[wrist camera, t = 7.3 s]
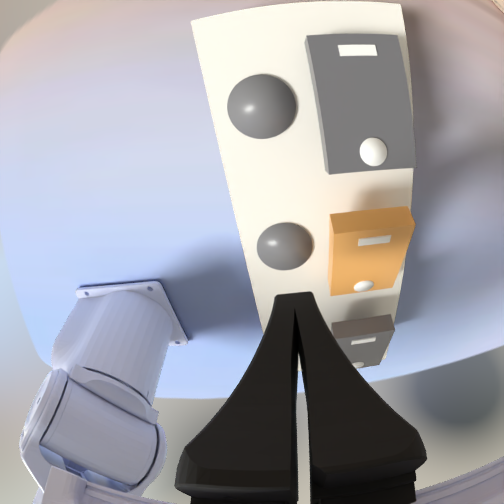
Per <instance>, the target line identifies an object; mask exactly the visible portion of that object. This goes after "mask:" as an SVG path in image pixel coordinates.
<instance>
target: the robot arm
mask: <svg viewBox="0 0 504 504" xmlns="http://www.w3.org/2000/svg"><path fill="white" fill-rule="evenodd" d="M150 287H152V288H150ZM75 293H76V295H77V297H78V298H79V299H78V301H77V303H76V304H75V306H74V308H73V309H72V311H71V313H70V315H69V316H68V318H67V320H66V322H65V323H64V325H63V327H62V329H61V330H60V332H59V334H58V336H57V338H56V339H55V342H54V344H53V348H52V354H51V363H52V369H53V370H52V371H50V372H49V373H48V375H47V376H46V378H45V379H44V381H43V383H42V385H41V386H40V388H39V390H38V392H37V394H36V396H35V398H34V400H33V403H32V405H31V407H30V410H29V412H28V415H27V418H26V421H25V425H24V428H23V431H22V433H21V436H20V441H19V448H20V455H21V458H22V460H23V462H24V464H25V465H26V467H27V469H28V470H29V472H30V473H31V475H32V476H33V478H34V479H35V481H36V482H37V484H38V485H39V488H38V490H37V493H36V495H35V498H34V501H33V503H32V504H175V503H169V502H163V501H158V500H153V499H149V498H144V497H141V496H142V494H143V492H144V491H145V490H146V488H147V487H148V486H149V485H150V484H151V483H152V482H153V481H154V480H155V479H156V478H157V477H158V475H159V474H160V472H161V470H162V468H163V466H164V463H165V459H166V455H167V441H166V437H165V432H164V430H163V428H162V427H161V425H159V424H158V423H156V421H157V417H158V413H159V412H158V411H156V410H155V409H153V408H152V404H153V400H154V396H155V392H156V388H157V385H158V381H159V377H160V374H161V370H162V367H163V363H164V359H165V356H166V352H167V349H168V346H178V345H187V344H188V339H187V337H186V335H185V333H184V331H183V329H182V327H181V325H180V323H179V321H178V319H177V317H176V315H175V313H174V311H173V308H172V306H171V304H170V302H169V300H168V298H167V296H166V294H165V291H164V289H163V287H162V285H161V284H160V283H159V282H157V281H150V282H139V283H128V284H117V285H106V286H94V287H82V288H77V289H76V291H75ZM298 356H299V358H300V364H301V370H302V377H303V383H304V389H305V395H306V402H307V411H308V430H309V455H310V456H309V457H310V502H311V503H310V504H504V456H503V457H501V458H499V459H497V460H495V461H493V462H491V463H489V464H487V465H484V466H482V467H480V468H478V469H475V470H473V471H471V472H468V473H466V474H463V475H461V476H458V477H455V478H453V479H450V480H447V481H444V482H442V483H439V484H436V485H433V486H429V487H426V488H423V489H420V490H416V491H415V486H414V482H415V481H416V473H415V470H416V469H418V468H419V467H420V466H421V465H422V464H424V462H425V461H426V460H427V456H426V450H425V447H424V444H423V442H422V439H421V437H420V435H419V433H418V431H417V430H416V429H415V428H414V427H413V426H412V425H410V424H409V423H408V422H407V421H406V420H404V419H403V418H402V417H401V416H400V415H399V414H397V413H396V412H395V411H394V410H393V409H392V408H391V407H390V406H389V405H388V404H387V403H386V402H385V401H384V400H383V399H382V398H381V397H380V396H379V395H378V394H377V393H376V392H375V391H374V390H373V388H372V387H371V386H370V385H369V384H368V383H367V382H366V381H365V379H364V378H363V377H362V376H361V375H360V373H359V372H358V371H357V370H356V368H355V367H354V366H353V364H352V363H351V362H350V360H349V359H348V358H347V356H346V355H345V353H344V352H343V350H342V349H341V347H340V346H339V344H338V343H337V341H336V340H335V338H334V336H333V335H332V333H331V331H330V329H329V328H328V326H327V324H326V322H325V320H324V318H323V316H322V314H321V312H320V310H319V308H318V306H317V303H316V300H315V298H314V294H313V293H312V292H311V291H308V292H298V293H287V294H277V295H276V296H275V297H274V303H273V308H272V312H271V315H270V318H269V321H268V324H267V327H266V330H265V332H264V335H263V337H262V340H261V342H260V344H259V346H258V349H257V351H256V353H255V355H254V357H253V359H252V361H251V363H250V365H249V367H248V368H247V370H246V372H245V374H244V375H243V377H242V379H241V380H240V382H239V384H238V385H237V387H236V388H235V389H234V391H233V392H232V394H231V395H230V397H229V398H228V400H227V401H226V402H225V404H224V405H223V406H222V407H221V409H220V410H219V411H218V412H217V413H216V415H215V416H214V417H213V418H212V419H211V421H210V422H209V423H208V424H207V425H206V426H205V427H204V429H203V430H202V431H201V432H200V433H199V434H198V435H197V436H196V437H195V438H194V439H193V440H192V441H191V442H189V444H187V446H185V448H184V450H183V452H182V455H181V457H180V460H179V464H178V467H177V472H176V479H175V488H176V489H177V490H179V491H181V492H183V493H185V494H187V495H189V496H191V503H190V504H297V501H298V457H297V426H296V424H297V423H296V399H297V380H298Z"/></svg>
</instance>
